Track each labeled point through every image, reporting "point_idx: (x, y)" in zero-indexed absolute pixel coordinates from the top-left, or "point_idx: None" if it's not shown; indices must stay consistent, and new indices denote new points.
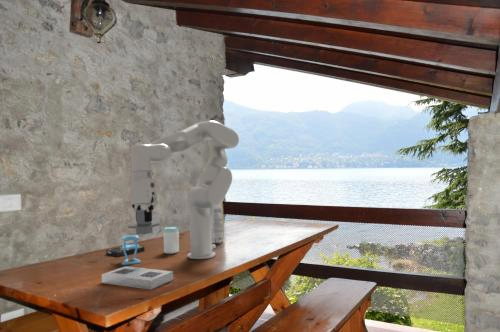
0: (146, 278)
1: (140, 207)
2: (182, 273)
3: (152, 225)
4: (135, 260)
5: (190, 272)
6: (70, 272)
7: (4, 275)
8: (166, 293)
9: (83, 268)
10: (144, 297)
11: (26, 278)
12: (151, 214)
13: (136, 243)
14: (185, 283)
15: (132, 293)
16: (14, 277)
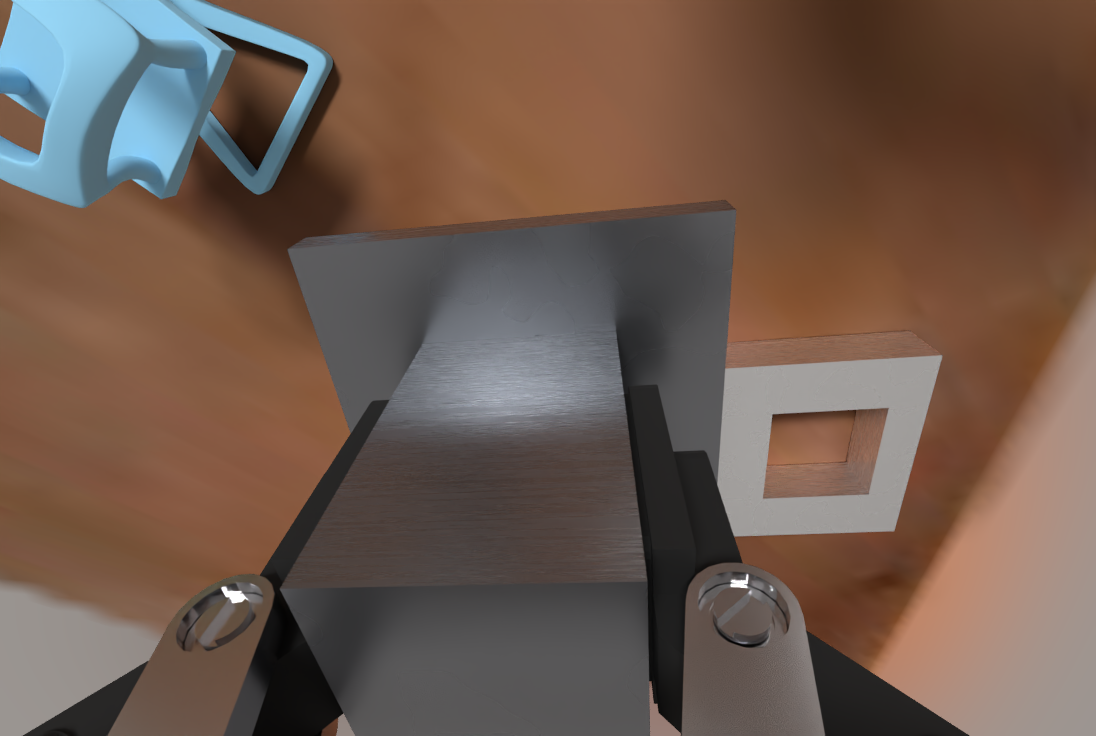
0: (843, 514)
1: (258, 711)
2: (908, 175)
3: (721, 409)
4: (236, 36)
5: (967, 119)
6: (191, 452)
7: (9, 585)
8: (980, 506)
9: (148, 370)
10: (896, 568)
11: (148, 578)
12: (727, 531)
13: (176, 61)
14: (1028, 354)
15: (806, 554)
16: (86, 587)
